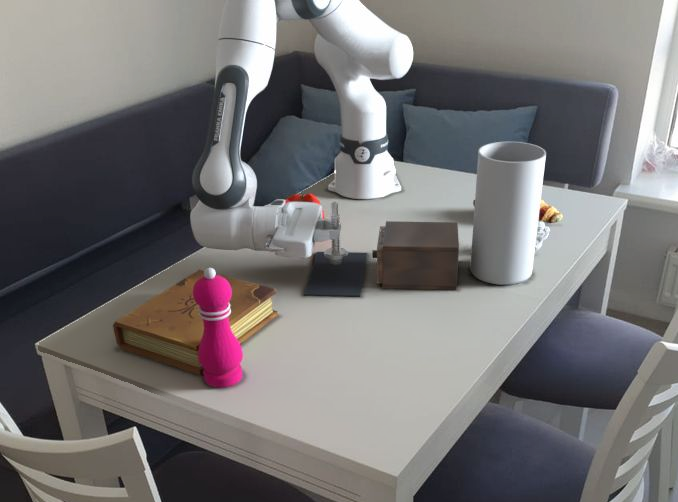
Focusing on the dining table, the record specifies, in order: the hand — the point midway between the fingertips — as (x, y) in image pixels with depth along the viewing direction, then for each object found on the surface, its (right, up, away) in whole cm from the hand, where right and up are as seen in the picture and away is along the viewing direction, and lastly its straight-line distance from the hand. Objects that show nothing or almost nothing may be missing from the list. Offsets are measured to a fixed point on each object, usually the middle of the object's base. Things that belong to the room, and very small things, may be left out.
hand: (339, 230), depth 159 cm
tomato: (-9, +3, +22) cm, 24 cm away
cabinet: (+16, -8, +4) cm, 19 cm away
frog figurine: (+41, -2, +12) cm, 43 cm away
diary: (-25, -21, -13) cm, 36 cm away
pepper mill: (-19, -30, -26) cm, 44 cm away
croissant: (+41, +8, +28) cm, 50 cm away
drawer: (+14, -8, +4) cm, 16 cm away
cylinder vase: (+33, -8, +4) cm, 34 cm away
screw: (-1, -6, +4) cm, 7 cm away
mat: (-1, -8, +5) cm, 10 cm away
